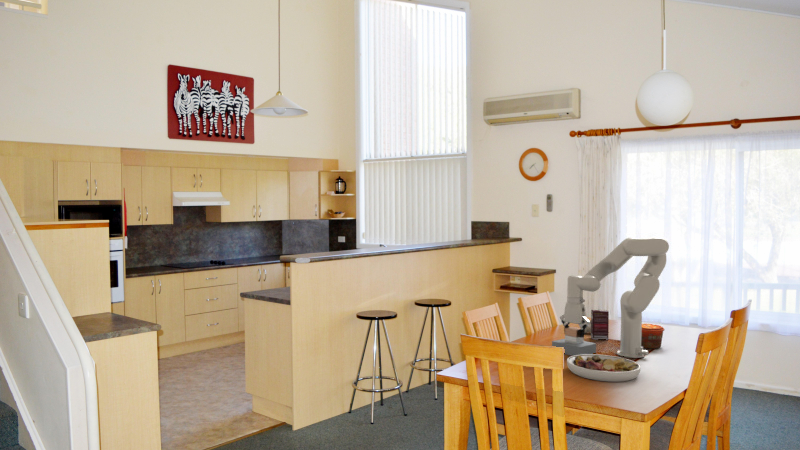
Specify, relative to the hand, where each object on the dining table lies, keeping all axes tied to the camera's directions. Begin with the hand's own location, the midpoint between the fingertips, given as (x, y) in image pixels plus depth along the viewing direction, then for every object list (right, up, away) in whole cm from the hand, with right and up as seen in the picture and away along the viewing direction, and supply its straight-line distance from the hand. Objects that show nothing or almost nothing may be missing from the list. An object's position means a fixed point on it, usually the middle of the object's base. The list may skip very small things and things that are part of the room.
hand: (574, 335), depth 288 cm
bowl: (+1, -10, -38) cm, 39 cm away
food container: (+43, -9, +16) cm, 47 cm away
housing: (0, -3, 0) cm, 3 cm away
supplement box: (+24, -8, +33) cm, 41 cm away
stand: (0, -8, 0) cm, 8 cm away
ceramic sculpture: (+26, -8, +47) cm, 54 cm away
